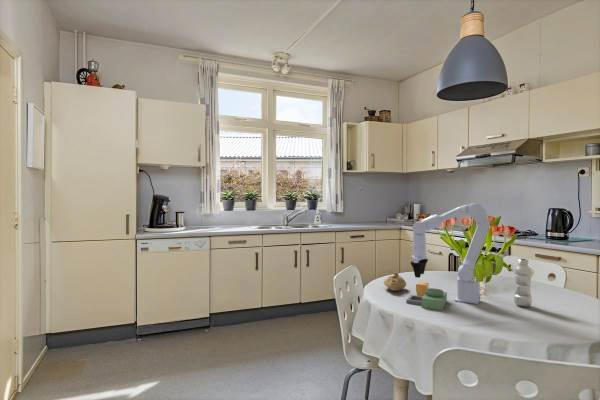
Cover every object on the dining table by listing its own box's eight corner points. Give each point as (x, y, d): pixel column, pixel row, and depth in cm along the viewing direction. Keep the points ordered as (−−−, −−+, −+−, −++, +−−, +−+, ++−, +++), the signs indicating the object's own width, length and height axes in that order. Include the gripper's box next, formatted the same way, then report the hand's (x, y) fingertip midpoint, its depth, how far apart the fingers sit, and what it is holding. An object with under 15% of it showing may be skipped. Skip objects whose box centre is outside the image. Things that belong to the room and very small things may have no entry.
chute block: (428, 295, 169) (428, 283, 169) (426, 298, 165) (426, 285, 165) (417, 294, 171) (418, 281, 171) (415, 296, 168) (415, 283, 167)
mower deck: (446, 301, 160) (446, 288, 160) (441, 310, 148) (441, 295, 148) (412, 296, 168) (412, 283, 167) (404, 304, 156) (404, 290, 155)
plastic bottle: (523, 309, 149) (524, 261, 149) (510, 304, 155) (510, 258, 155) (535, 307, 151) (536, 260, 150) (521, 303, 157) (522, 257, 157)
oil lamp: (385, 294, 172) (385, 277, 172) (382, 286, 187) (382, 270, 187) (409, 294, 171) (409, 278, 170) (404, 286, 185) (404, 271, 185)
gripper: (414, 244, 177) (414, 271, 178) (406, 248, 165) (407, 277, 165) (429, 245, 174) (429, 273, 174) (422, 249, 161) (422, 279, 161)
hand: (419, 275), depth 169 cm, fingers open, 7 cm apart
